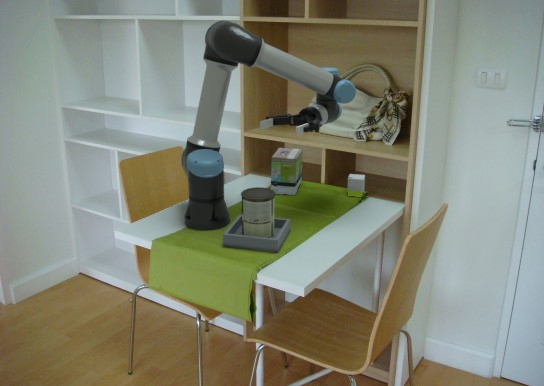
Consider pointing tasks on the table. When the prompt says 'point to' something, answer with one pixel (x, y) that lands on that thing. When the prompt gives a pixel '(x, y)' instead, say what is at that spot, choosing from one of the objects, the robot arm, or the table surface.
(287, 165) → the tea box
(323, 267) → the table surface
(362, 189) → the skincare box
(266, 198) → the coffee can
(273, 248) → the grey square tray
